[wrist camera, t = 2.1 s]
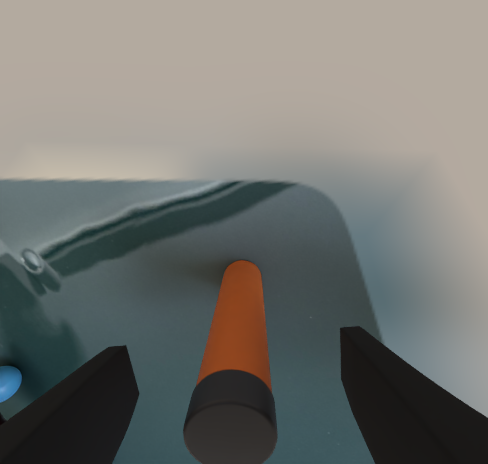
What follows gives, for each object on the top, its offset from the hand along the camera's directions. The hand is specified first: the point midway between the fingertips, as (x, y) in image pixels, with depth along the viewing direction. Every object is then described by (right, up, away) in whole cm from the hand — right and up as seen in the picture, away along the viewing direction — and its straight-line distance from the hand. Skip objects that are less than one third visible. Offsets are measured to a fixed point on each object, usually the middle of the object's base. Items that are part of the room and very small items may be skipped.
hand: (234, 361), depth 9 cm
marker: (0, +2, +6) cm, 7 cm away
